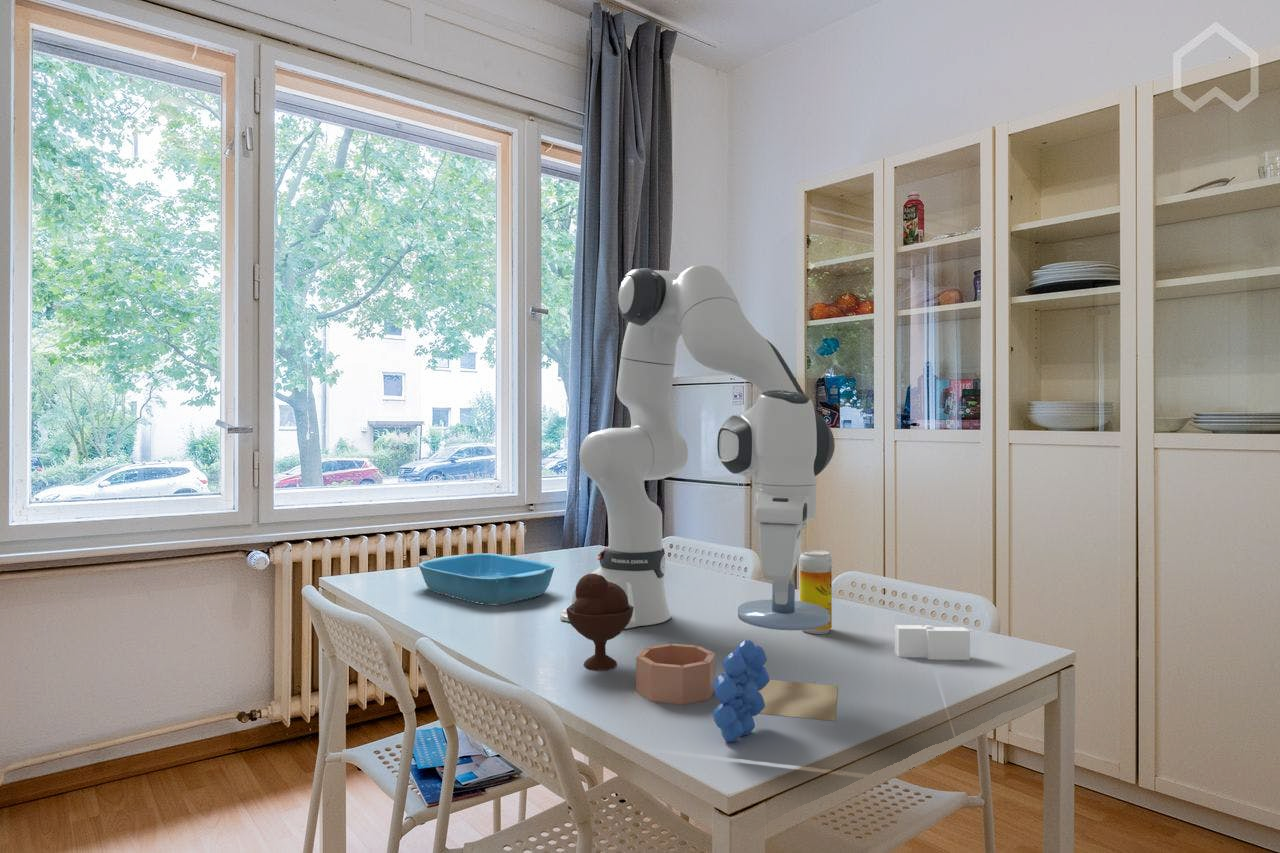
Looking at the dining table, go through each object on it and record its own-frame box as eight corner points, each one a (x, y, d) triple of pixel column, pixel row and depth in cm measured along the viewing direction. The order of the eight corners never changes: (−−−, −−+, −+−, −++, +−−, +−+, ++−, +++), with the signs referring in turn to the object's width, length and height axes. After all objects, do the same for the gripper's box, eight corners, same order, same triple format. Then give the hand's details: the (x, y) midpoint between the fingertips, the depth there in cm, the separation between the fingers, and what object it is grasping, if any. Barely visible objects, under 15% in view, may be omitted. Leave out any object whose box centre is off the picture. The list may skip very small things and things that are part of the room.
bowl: (629, 701, 109) (629, 663, 109) (650, 676, 120) (650, 641, 120) (705, 709, 106) (705, 669, 106) (719, 683, 117) (719, 647, 117)
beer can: (832, 635, 143) (832, 555, 143) (799, 633, 144) (799, 554, 144) (830, 627, 149) (830, 550, 149) (799, 625, 150) (798, 549, 150)
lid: (731, 625, 105) (731, 589, 105) (744, 603, 118) (744, 571, 118) (828, 634, 102) (828, 596, 102) (831, 610, 114) (831, 576, 114)
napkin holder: (985, 659, 130) (984, 625, 130) (962, 675, 121) (962, 640, 121) (899, 642, 140) (899, 611, 140) (872, 657, 131) (872, 624, 131)
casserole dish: (403, 589, 185) (403, 559, 185) (480, 575, 202) (480, 548, 202) (492, 615, 160) (492, 581, 160) (572, 597, 176) (572, 566, 176)
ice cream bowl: (580, 679, 119) (580, 583, 118) (559, 659, 129) (559, 570, 129) (643, 670, 123) (643, 577, 123) (617, 651, 133) (617, 566, 133)
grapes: (735, 714, 104) (735, 627, 104) (780, 726, 100) (780, 635, 100) (688, 743, 95) (688, 647, 95) (735, 757, 91) (735, 657, 91)
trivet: (729, 713, 105) (729, 710, 105) (744, 680, 118) (744, 677, 118) (834, 723, 101) (834, 720, 101) (837, 688, 114) (837, 685, 114)
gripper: (770, 495, 120) (769, 582, 121) (752, 511, 101) (751, 615, 101) (811, 496, 119) (810, 585, 119) (801, 513, 99) (799, 619, 99)
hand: (783, 599), depth 110 cm, fingers closed on lid, 3 cm apart
